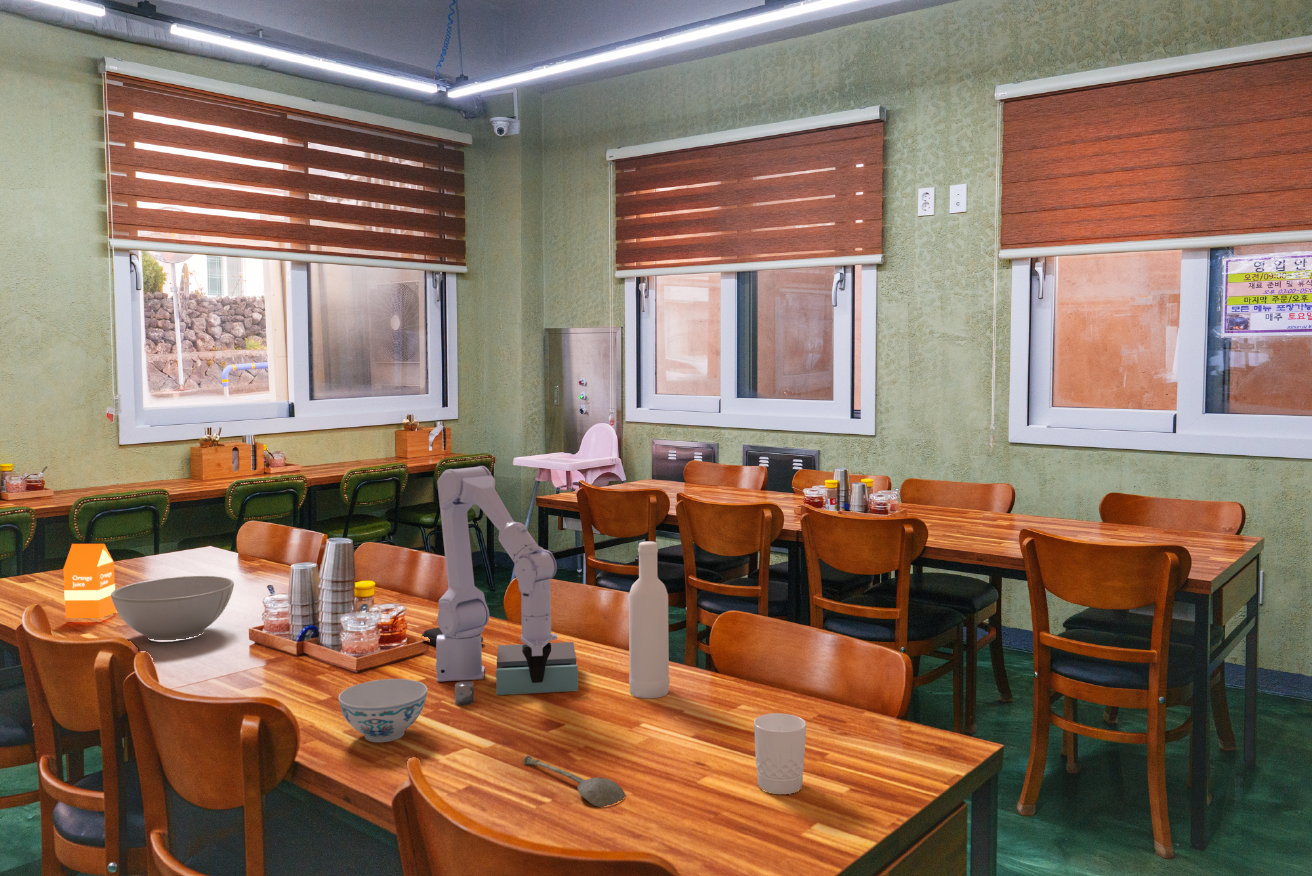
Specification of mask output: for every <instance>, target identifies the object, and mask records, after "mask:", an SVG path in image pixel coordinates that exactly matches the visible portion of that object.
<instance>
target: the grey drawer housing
mask: <svg viewBox="0 0 1312 876" xmlns="http://www.w3.org/2000/svg"><path fill="white" fill-rule="evenodd" d="M550 643H551V652H550V655H549V657H548V659H547V662H546V666H549V665H577V655H576V651H575V649H576V648H575V645H574V642H573V641H570V642H569V641H567V642H564V641H562V642H550ZM523 645H525V643H521V644H518V643H517V644H504V645H503V644H501V645H500V644H499V645H498V646H497V655H496V669H499V668H508V667H528V663H527V660H526V658H525V656H524V654H523V652H522V646H523Z"/></svg>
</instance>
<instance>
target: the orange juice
mask: <svg viewBox="0 0 1312 876" xmlns="http://www.w3.org/2000/svg"><path fill="white" fill-rule="evenodd" d="M114 562H115V561H114V560H113V558H112V556H111V554H110V552H109V551H108V549H107V546H106V544H105V543H71V546H70V550H69V552H68V555H67V558H66V559H65V564H64V566H63V582H64V584H63V587H64V590H63V591H64V605H65V606H64V607H65V608H64V609H65V610H64V611H65V619H66V618H98V619H100V618H103V617H104V616H108V615H111V614H113V613H116V614H117V610H116V608H115V606H114V604H113V602H112V599H111V593H112V592H113V591H114V590H116V583H115V565H114V564H115V563H114Z"/></svg>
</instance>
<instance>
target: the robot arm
mask: <svg viewBox="0 0 1312 876" xmlns="http://www.w3.org/2000/svg"><path fill="white" fill-rule="evenodd" d="M436 482H437V490H438V491H437V492H438V500H439V501H438V502H439V509H440V519H441V529H442V539H443V548H444V558H445V559H444V560H445V569H446V579H447V586H448V587H447V590H446V591H445V593H444V594H443V595H442V596H441V597H440V598H439V600H438V613H437V616H436V617H437V626H438V627H439V628H440V630H441V631H442V633H443V635H437V641H436V646H435V648H436V649H435V653H436V655H435V657H436V661H435V670H436V682H452V681H453V682H454V681H455V682H456V681H474V680H483V679H484V676H485V670H486V669H485V665H483V659H482V658H483V656H482V655H483V653H482V643H481V637H482V632H484V631H485V627H486V626H487V625H488V623H489V620H490V610H489V607H488V604H487V602H486V599H485V593H484V592H483V591H482V590H481V589H480V588H478V587H477V586H475V579H474V578H475V577H474V569H473V560H472V559H473V558H472V549H471V541H470V539H471V538H470V530H469V520H468V519H469V518H468V511H470V509H471V508H472V507H473V506H474V505H477V506H478V507H479V508H480V510H482V512H483V513H484V514H485V516H487V518H488V519H489V521H490V522H491V523H492V524H493V525H494V527H495V528H496V529H497V530H498V542H499V543H500V545H501V546H502V547H503V549H504V550H505V551H506V554H508V555H509V557H510V559H511V560H512V562H513V563H514V565H515V566H514V567H513V571H514V572H513V573H514V576H515V578H516V580H517V583H518V590H519V592H520V593H521V595H520V596H521V602H520V603H521V635H520V641H521V642H522V644H525V645H523V646H522V652H523V654H524V656H525V658H526V660H527V663H528V666H529V672H530V677H531V681H532V683H542V682H543V679H544V673H545V666H546V662H547V659H548V657H549V655H550V652H551V643H552V642H551V641H554V640H558V634H557V633H552V606H551V605H552V603H551V602H552V597H551V596H552V595H551V594H552V593H551V591H552V590H551V587H552V586H551V584H552V583H551V579H553V578H554V577H555V575H556V574H557V570H558V569H557V567H558V566H557V561H556V559H555V557H554V555H553V553H552V552H551V551H550V550H548V549H544V548H543V547H542V546H540V545H538V543H537V542H536V541H535V539H534V538H533V536H532V535H531V534H530V532H529V530H528V528H527V526H526V525H525V524H523V523H522V522H518V521H514V520H513V518H512V516H511V514H510V512H509V511H508V509H507V508H506V506H505V504H504V502H503V501H502V499H501V497H500V495H499V494H498V492H497V491H496V478H494V476H493V475H492V473H491V472H490V470H489V469H488V468H487V467H486V466H485V465H478V466H474V467H464V468H463V467H462V468H454V469H452V468H450V469H446V470H444V471H443V472H442V473H441V475H440V477H438V480H437V481H436Z"/></svg>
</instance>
